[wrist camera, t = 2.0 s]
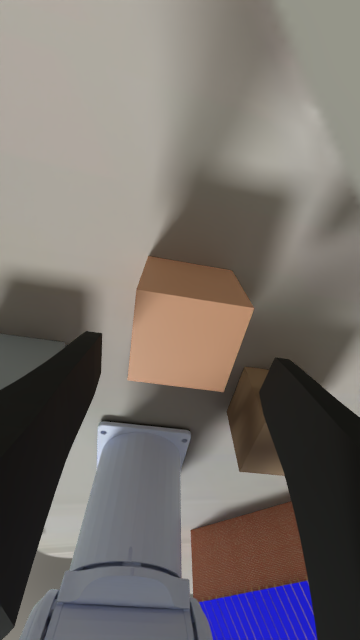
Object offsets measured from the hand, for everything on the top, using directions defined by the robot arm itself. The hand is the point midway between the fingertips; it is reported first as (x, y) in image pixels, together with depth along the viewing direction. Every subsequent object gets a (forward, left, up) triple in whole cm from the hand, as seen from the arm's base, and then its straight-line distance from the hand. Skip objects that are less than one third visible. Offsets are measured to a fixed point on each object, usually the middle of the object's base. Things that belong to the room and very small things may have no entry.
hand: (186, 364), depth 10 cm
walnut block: (-7, -8, -6) cm, 12 cm away
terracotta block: (0, 0, -6) cm, 6 cm away
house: (-30, -18, -7) cm, 35 cm away
